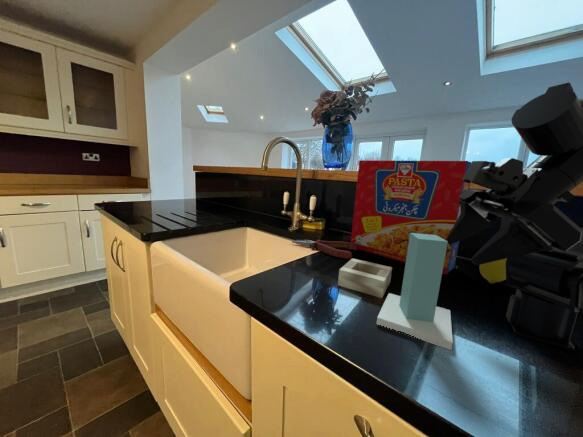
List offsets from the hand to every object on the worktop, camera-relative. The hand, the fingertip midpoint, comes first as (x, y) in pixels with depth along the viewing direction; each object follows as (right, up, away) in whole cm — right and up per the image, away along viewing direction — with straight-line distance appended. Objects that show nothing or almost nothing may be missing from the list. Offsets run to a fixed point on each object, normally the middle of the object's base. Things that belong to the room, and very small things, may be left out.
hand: (458, 251), depth 39 cm
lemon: (+20, -10, +19) cm, 29 cm away
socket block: (-11, -9, +14) cm, 20 cm away
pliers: (-15, -5, +39) cm, 43 cm away
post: (-6, -10, +1) cm, 12 cm away
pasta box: (+5, -6, +35) cm, 36 cm away
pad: (-6, -12, +1) cm, 13 cm away
